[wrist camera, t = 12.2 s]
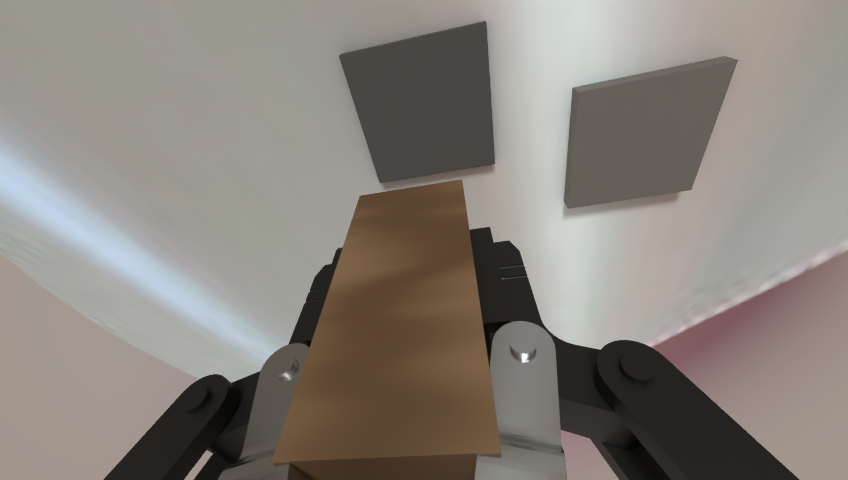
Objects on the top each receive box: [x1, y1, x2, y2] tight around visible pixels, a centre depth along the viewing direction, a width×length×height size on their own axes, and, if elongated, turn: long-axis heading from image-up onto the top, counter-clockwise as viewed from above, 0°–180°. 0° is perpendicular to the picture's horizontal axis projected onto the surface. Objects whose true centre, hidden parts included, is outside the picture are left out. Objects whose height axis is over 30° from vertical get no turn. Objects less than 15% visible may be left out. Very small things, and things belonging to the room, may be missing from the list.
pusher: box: [272, 179, 502, 480], centre depth 9 cm, size 4×4×8 cm
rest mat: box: [339, 21, 495, 183], centre depth 22 cm, size 9×9×1 cm
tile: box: [564, 56, 738, 208], centre depth 23 cm, size 9×2×9 cm
